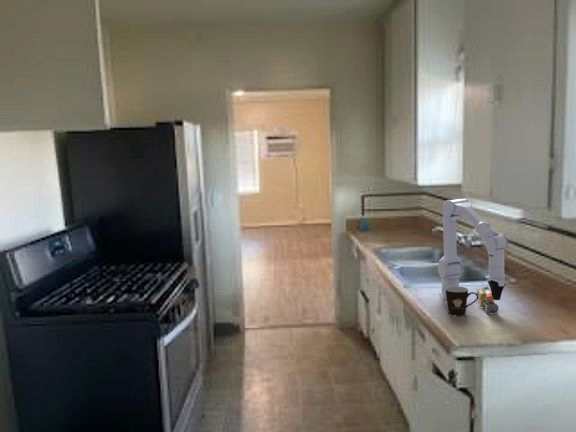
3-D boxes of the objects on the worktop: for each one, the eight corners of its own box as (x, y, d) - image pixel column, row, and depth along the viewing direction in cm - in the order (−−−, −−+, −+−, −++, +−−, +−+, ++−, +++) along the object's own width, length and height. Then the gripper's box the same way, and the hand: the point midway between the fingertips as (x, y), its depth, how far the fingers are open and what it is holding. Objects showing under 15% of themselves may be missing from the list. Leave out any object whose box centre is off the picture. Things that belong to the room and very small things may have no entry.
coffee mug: (442, 314, 205) (441, 290, 203) (450, 308, 211) (449, 285, 210) (471, 319, 198) (471, 294, 196) (478, 313, 204) (478, 288, 203)
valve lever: (482, 290, 214) (482, 286, 213) (488, 291, 213) (488, 286, 213) (486, 300, 200) (486, 295, 200) (493, 300, 200) (493, 296, 199)
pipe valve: (475, 300, 221) (475, 286, 220) (487, 300, 220) (487, 286, 220) (486, 315, 201) (486, 300, 200) (500, 315, 200) (500, 300, 200)
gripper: (481, 261, 208) (481, 294, 210) (490, 270, 194) (490, 305, 196) (499, 261, 207) (499, 293, 209) (510, 269, 193) (510, 304, 195)
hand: (496, 299), depth 202 cm, fingers closed
